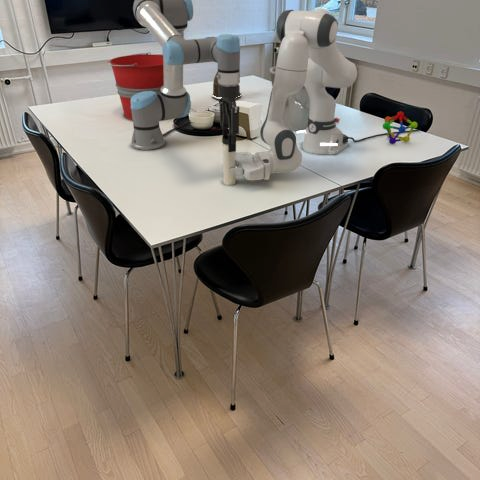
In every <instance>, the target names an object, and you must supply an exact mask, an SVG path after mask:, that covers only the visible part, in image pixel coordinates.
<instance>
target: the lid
mask: <svg viewBox="0 0 480 480" xmlns="http://www.w3.org/2000/svg"><path fill="white" fill-rule="evenodd" d="M221 143H222V144H223V143H224V144H228V135H226V136H223V135H222V137H221Z"/></svg>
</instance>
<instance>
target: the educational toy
mask: <svg viewBox="0 0 480 480" xmlns="http://www.w3.org/2000/svg"><path fill="white" fill-rule="evenodd" d="M397 119H399V124H400V125H399V127H398V126H393V125H391V124H392V123H394V122H395V121H396V120H397ZM403 120H404V121H405V122H407V123H408V124H409V125H407V126H404V123H403ZM417 127H418V122H417V121H411V120H410V119H409V118H408V117H406V116H405V113H404V112H403V111H401V110H400V111H398V112H397V114H396V115H394V116H391V117H390V116H386V117H385V118H384V122H383V123H382V129H383V130H386V133H388V135H387V138H388V142H389V145H395V144H396V143H397V142H402V141H403V142H404V143H409V142H410V140H411V138H410V136H411V134H412V133H413V132H412V130H416V129H417ZM392 129H393V130H397V132H398V133H397V134H394V133H392V132H393V131H392ZM408 129H409V130H408ZM407 130H408V131H409V132H407V134H406V135H404V136H401V134H404V133H403V132H405V131H407ZM399 135H400V136H399Z"/></svg>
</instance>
